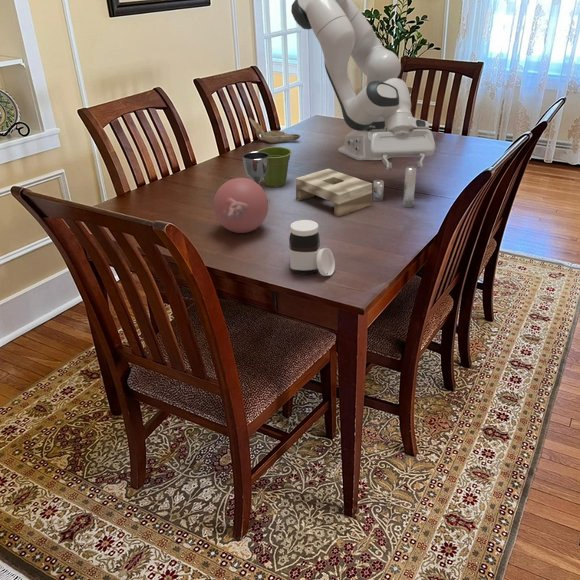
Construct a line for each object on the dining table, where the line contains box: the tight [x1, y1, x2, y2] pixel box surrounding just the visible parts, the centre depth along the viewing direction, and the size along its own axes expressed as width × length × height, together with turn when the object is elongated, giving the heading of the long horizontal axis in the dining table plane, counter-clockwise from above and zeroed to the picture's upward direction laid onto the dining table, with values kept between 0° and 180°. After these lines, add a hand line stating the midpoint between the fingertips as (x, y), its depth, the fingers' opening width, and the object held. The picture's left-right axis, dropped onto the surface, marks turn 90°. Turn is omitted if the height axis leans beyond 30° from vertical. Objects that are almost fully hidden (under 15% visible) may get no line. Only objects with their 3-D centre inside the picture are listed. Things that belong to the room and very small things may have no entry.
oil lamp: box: [248, 117, 301, 144], centre depth 247 cm, size 9×21×10 cm, turn 79°
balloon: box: [213, 177, 269, 234], centre depth 165 cm, size 15×20×15 cm
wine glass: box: [242, 151, 269, 186], centre depth 187 cm, size 8×8×15 cm
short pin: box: [372, 179, 385, 202], centre depth 188 cm, size 3×3×6 cm
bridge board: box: [295, 168, 373, 218], centre depth 186 cm, size 20×14×7 cm
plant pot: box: [256, 146, 293, 187], centre depth 201 cm, size 12×12×11 cm
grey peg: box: [402, 165, 417, 208], centre depth 181 cm, size 3×3×12 cm
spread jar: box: [288, 219, 336, 277], centre depth 146 cm, size 12×11×12 cm
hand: (404, 168), depth 183 cm, fingers open, 8 cm apart
